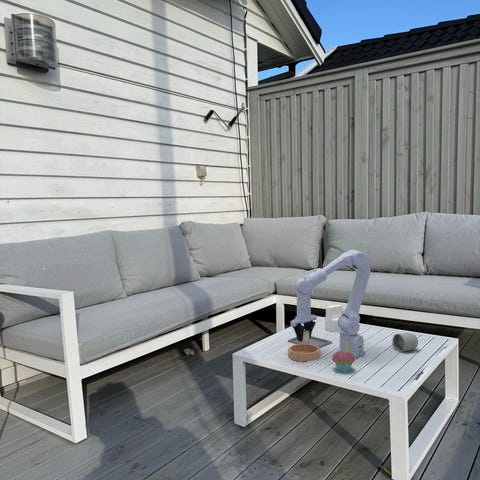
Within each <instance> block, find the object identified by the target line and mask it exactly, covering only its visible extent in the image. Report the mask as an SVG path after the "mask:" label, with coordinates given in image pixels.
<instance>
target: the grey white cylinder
mask: <svg viewBox="0 0 480 480" xmlns="http://www.w3.org/2000/svg"><path fill="white" fill-rule="evenodd" d="M342 312H343V305H342V304H334V305H333V304H332V305H329V306H326V307H325V317H324V319H325V321H324V329H325V331H327V332H330V333H340V327H339V326H338V319H339V317H340V316H341V315H342Z"/></svg>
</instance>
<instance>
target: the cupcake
mask: <svg viewBox="0 0 480 480" xmlns="http://www.w3.org/2000/svg"><path fill="white" fill-rule="evenodd" d="M347 348H348V342H347V343H346V350H345V351H339V350H337V351H338V352H337V351H335V352H334V353H333V354H332V357H331V360H332V362H334V363H335V365H336V369H337V371H338V372H342V373H347V372H349V371H351V368H352V365H353V363H355V360H356V358H355V357H354V355H352V354H351V353H350V352H348V351H347Z"/></svg>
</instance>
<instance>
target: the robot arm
mask: <svg viewBox="0 0 480 480" xmlns="http://www.w3.org/2000/svg"><path fill="white" fill-rule="evenodd" d="M369 261H370V258H369V256H367V254H366V252H363V251H359V250H356V249H352V248H351V249H348V250H347V251H345V252H343V253H342V254H340V255H339V256H338V257H337V258H335V259H334V260H332V261H331V262H329V264H327V265H326V266H324V267H322V268H320V267H319V268H314V269H312V272H310V273H309V274H307V275H304V276H303V278H298V279H297V280H296V282H295V284H294V288H295V290H296V316H295V317H294V319H292V320H290V326H291V327H292V328H293V331H294V332H295V333H294V334H295V335H296V337H297V340H298V341H300V342H302V341H303V332H304V330H308V331H309V339H310V338H311V336H312V333H313V331H314V330H313V329H314V328H315V327H316V325H317V324H316V323H317V322H316V321H317V315H315V314H311V313H312V311H311V310H312V309H311V307H312V306H311V305H312V303H311V302H312V300H311V293H312V292H313V290H314V289H315V288H316V287H317V286H319V285H320V284H322V283H323V282H325V281H326V280H327V278H328V276H329V275H330V274H332V273H334V272H336V271H337V270H338V269H341V268H342V267H344V266H345V267H352V268H353V270H354V272H355V273H356V274H355V278H354V281H353V284H352V288H351V291H350V294H349V297H348V302H347V305H346V308H345V309H343V310H342V315H341V316H340V317H339V319H338V326H339V327H340V332H339V350H337V351H336V352H338V351H345V350H346V343H347V342H348V348H347V351H348V352H350V353H351V354H352V355H354V357H355V359H356V358H359V357H360V356H363V355H365V352H364V351H365V350H364V347H365V346H364V345H365V344H364V340H365V339H364V337H363V336H362V335H360V334H359V333H358V332H359V331H360V328H361V326H360V320H361V317H360V313H359V312H360V309H361V306H362V302H363V299H364V296H365V292H366V289H367V286H368V283H369V278H370V276H371V268H370V263H369Z"/></svg>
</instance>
